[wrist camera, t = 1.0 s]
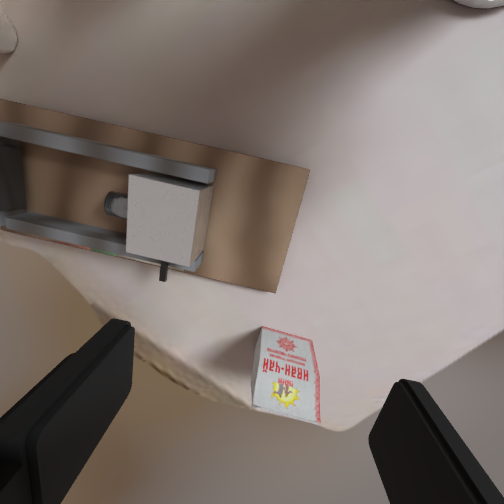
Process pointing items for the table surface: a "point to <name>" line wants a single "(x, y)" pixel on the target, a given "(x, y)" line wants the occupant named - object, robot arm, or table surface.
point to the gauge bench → (117, 179)
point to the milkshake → (7, 35)
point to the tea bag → (285, 376)
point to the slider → (163, 217)
